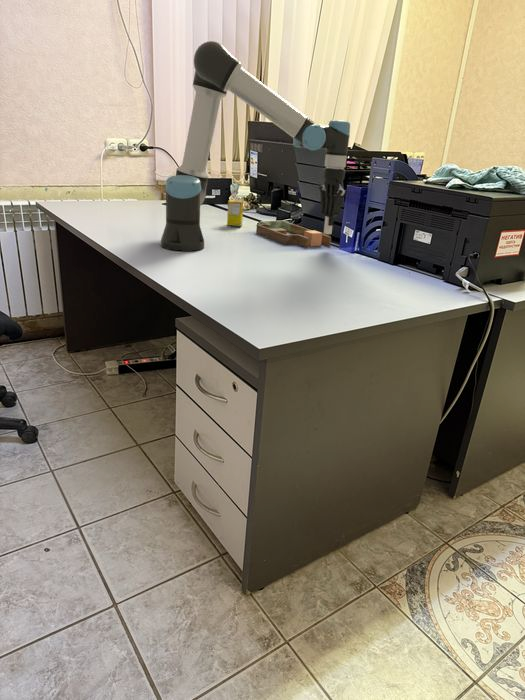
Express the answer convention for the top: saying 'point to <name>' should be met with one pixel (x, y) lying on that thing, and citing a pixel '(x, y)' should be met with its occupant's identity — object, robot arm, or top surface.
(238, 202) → the supplement box
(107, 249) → the top surface
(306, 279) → the top surface
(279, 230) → the trap lane
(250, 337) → the top surface
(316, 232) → the terracotta block
